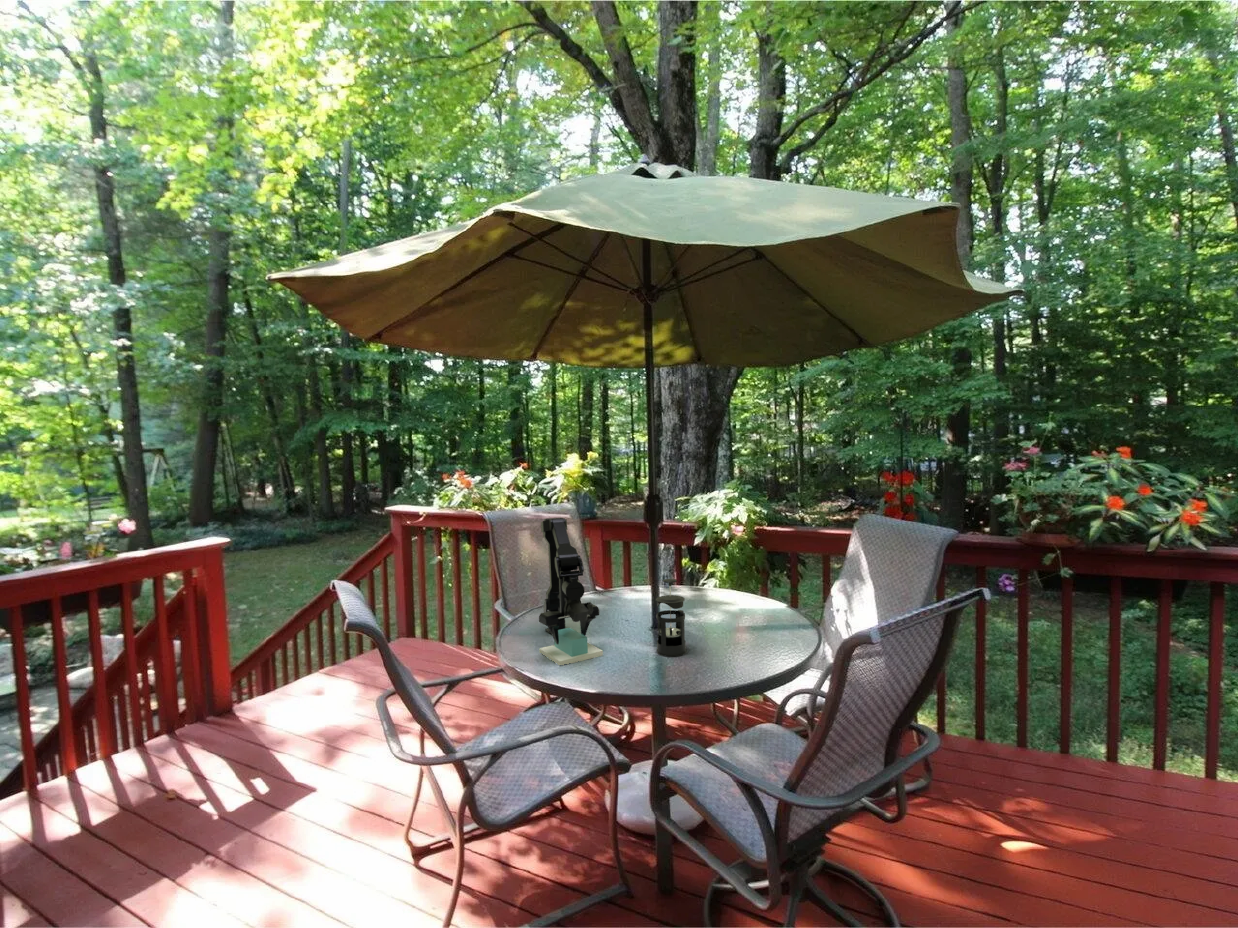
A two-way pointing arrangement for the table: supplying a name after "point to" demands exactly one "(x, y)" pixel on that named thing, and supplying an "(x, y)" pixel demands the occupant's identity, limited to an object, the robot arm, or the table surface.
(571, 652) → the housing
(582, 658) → the base plate
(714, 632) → the table surface
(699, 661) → the table surface
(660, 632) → the french press
